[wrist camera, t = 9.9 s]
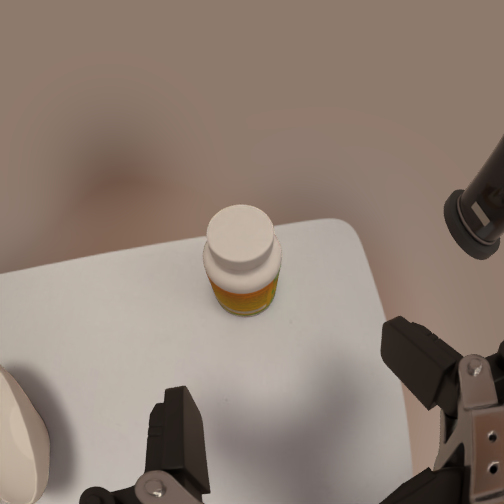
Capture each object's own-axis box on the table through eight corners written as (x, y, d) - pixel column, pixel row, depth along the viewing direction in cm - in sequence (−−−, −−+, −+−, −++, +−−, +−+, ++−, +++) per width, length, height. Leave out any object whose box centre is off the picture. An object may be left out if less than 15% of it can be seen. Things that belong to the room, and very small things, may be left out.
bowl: (38, 342, 21) (-5, 325, 15) (108, 478, 15) (67, 496, 9) (-19, 393, 17) (-55, 384, 10) (34, 503, 11) (-2, 512, 4)
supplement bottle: (280, 312, 23) (297, 265, 15) (219, 322, 23) (198, 280, 14) (268, 257, 26) (275, 190, 17) (212, 266, 25) (192, 202, 17)
